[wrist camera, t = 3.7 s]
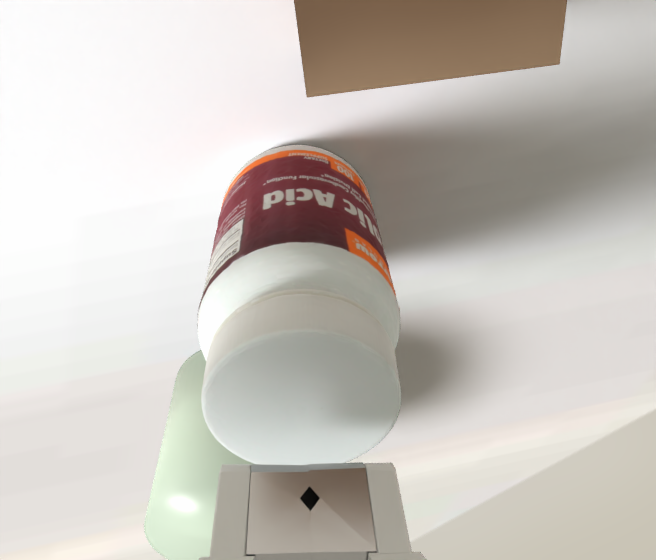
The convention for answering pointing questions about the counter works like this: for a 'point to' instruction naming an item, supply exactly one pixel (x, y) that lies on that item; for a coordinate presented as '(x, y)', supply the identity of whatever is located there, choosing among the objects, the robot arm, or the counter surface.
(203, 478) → the sage cylinder
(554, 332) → the counter surface
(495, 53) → the walnut cube
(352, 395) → the pill bottle
